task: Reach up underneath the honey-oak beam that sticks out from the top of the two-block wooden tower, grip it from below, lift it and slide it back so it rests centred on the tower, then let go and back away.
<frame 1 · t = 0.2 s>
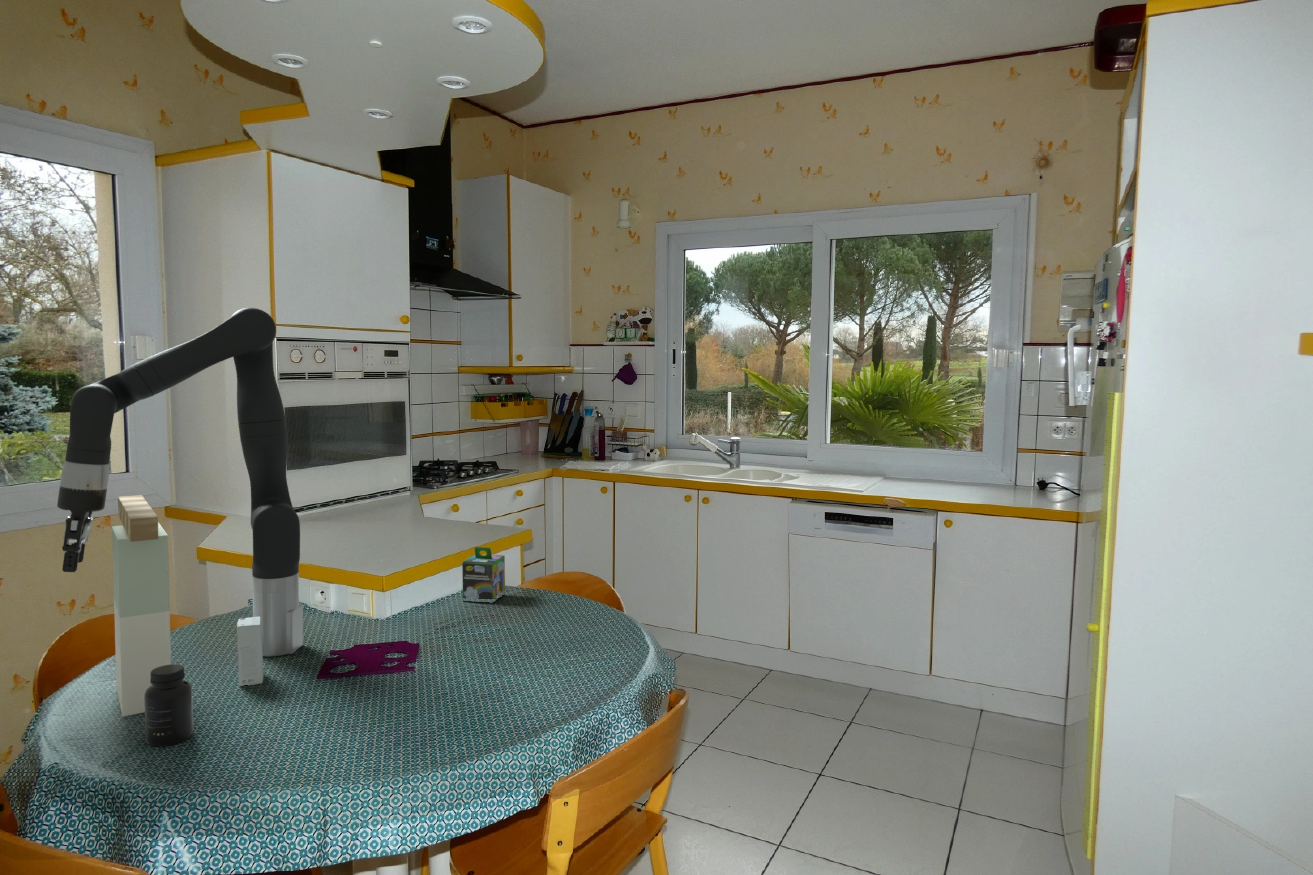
hand: (72, 566, 152), 23 cm above the table, tool pointing down, fingers open, 8 cm apart
supplement bottle: (169, 739, 130), on the table
beam: (137, 526, 146), point 32 cm above the table, touching tower
tower: (143, 698, 146), on the table
chalk box: (483, 599, 215), on the table
skincare box: (250, 680, 155), on the table
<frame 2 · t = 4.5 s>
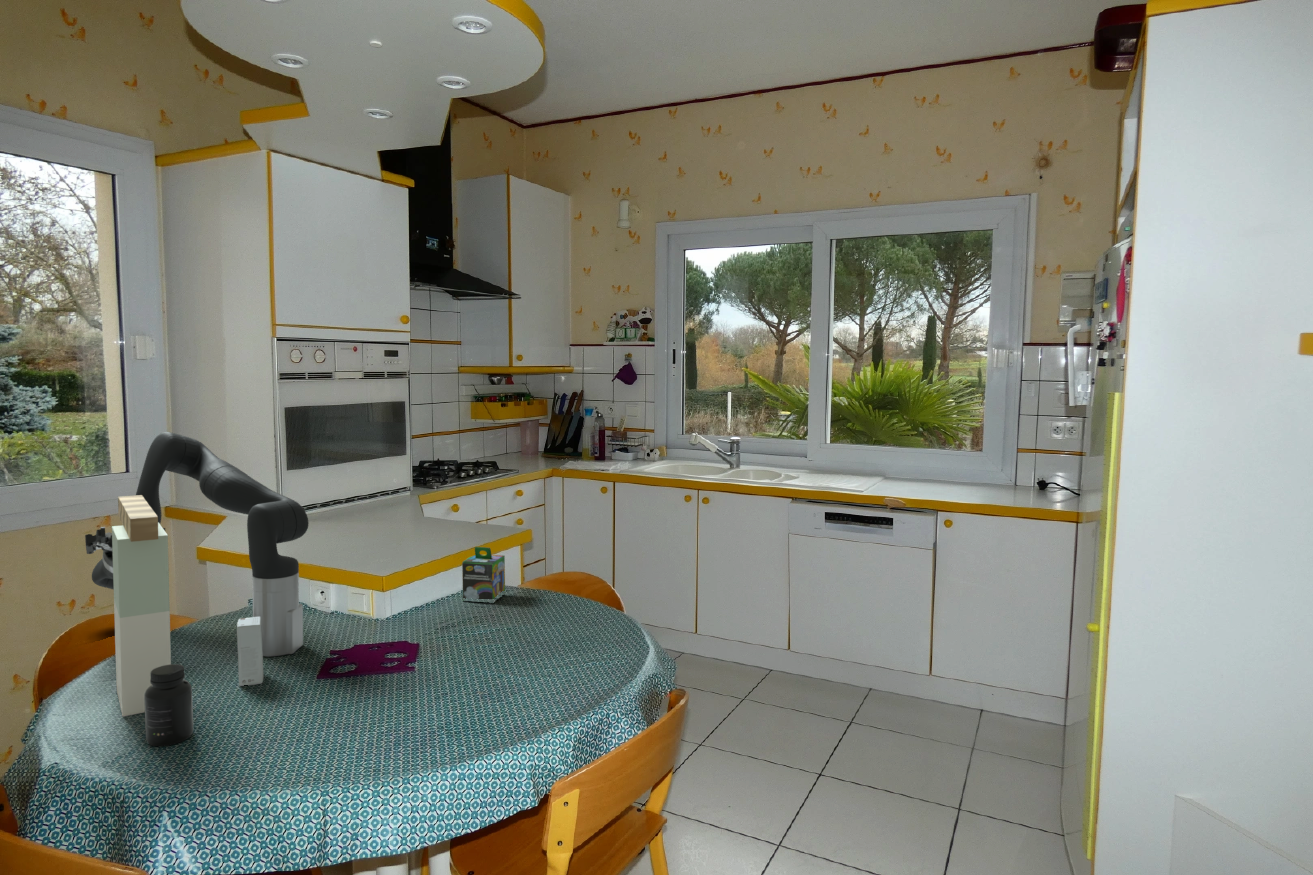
hand: (128, 529, 162), 28 cm above the table, tool pointing upward, fingers open, 8 cm apart
nothing on the table moved.
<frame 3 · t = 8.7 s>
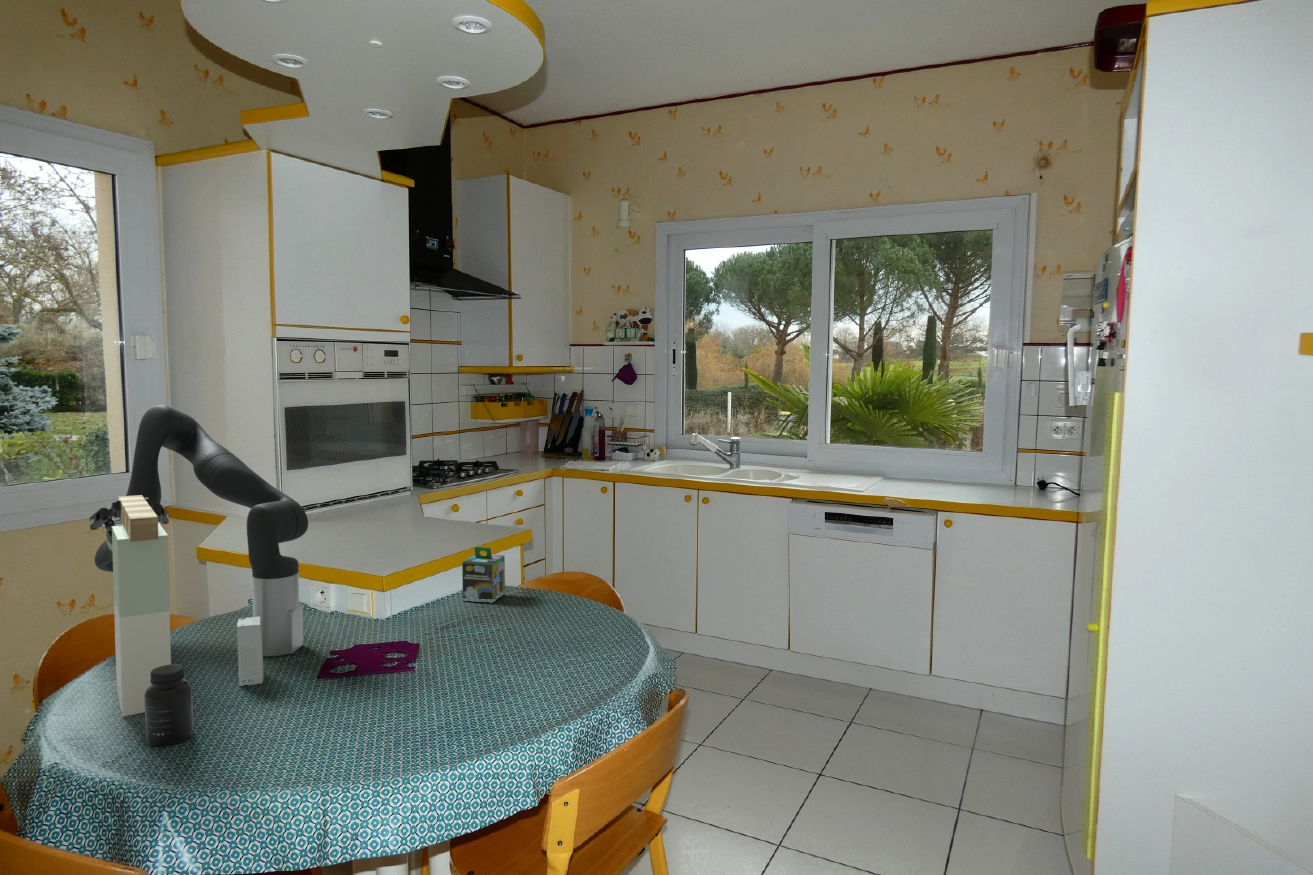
hand: (133, 503, 152), 35 cm above the table, tool pointing upward, fingers closed on beam, 4 cm apart
beam: (137, 526, 146), point 32 cm above the table, touching gripper, tower
everything else where it was.
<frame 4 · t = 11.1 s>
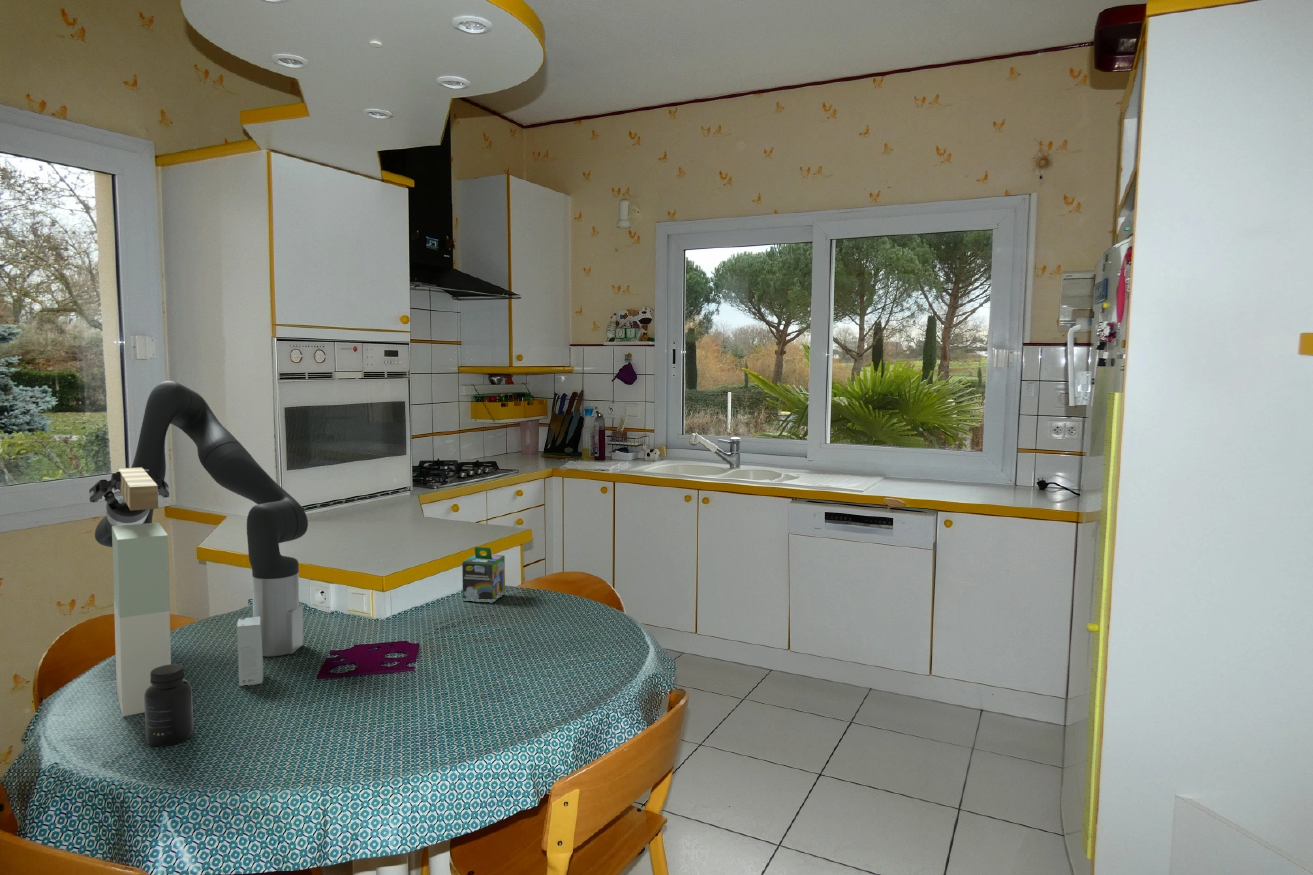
hand: (133, 474, 150), 41 cm above the table, tool pointing upward, fingers closed on beam, 4 cm apart
beam: (137, 497, 144), point 38 cm above the table, touching gripper
everything else where it was.
when the fingers open (36 cm above the table, at t = 13.9 s): beam stays where it is, resting on tower.
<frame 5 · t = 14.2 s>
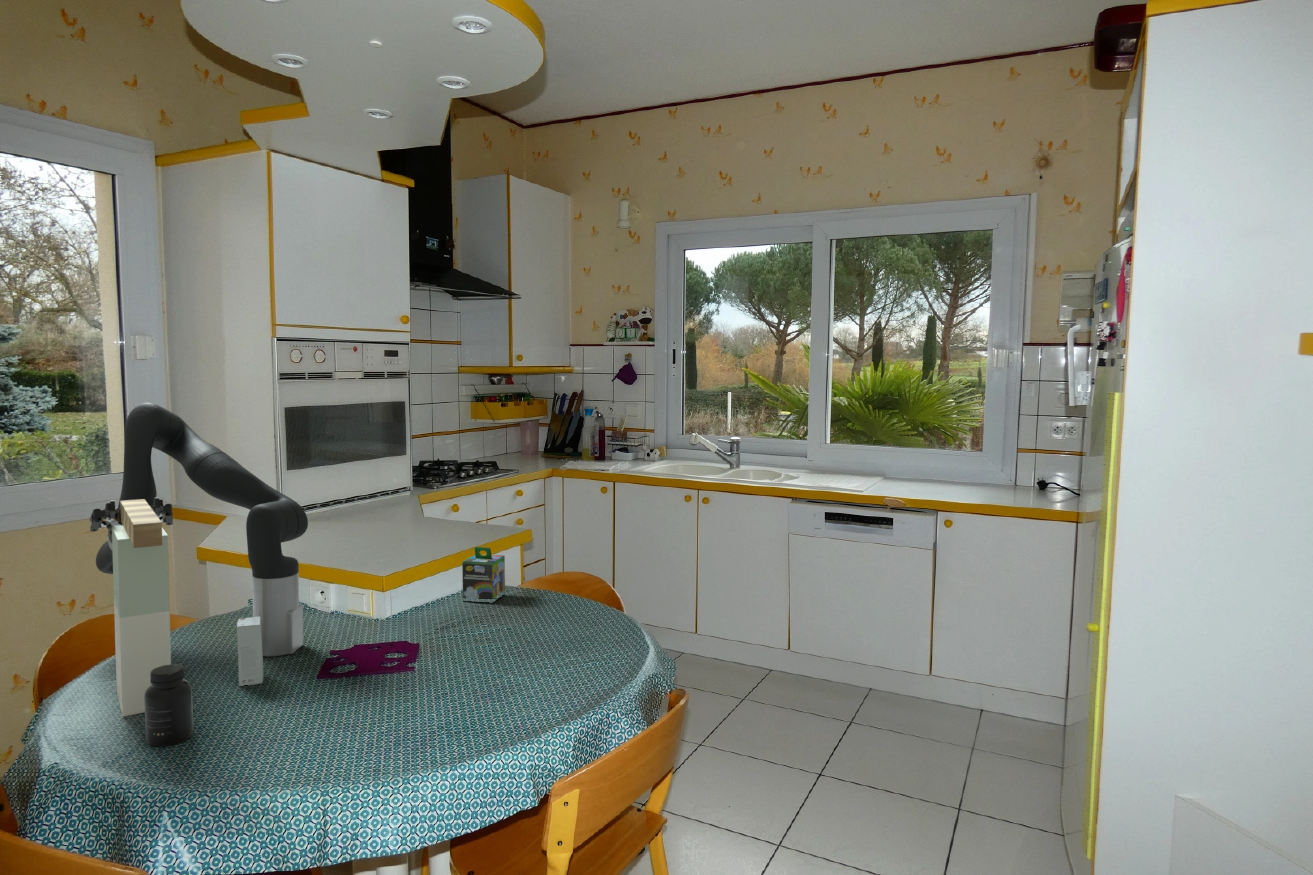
hand: (135, 503, 147), 36 cm above the table, tool pointing upward, fingers open, 6 cm apart
beam: (140, 532, 142), point 32 cm above the table, touching tower
everything else where it was.
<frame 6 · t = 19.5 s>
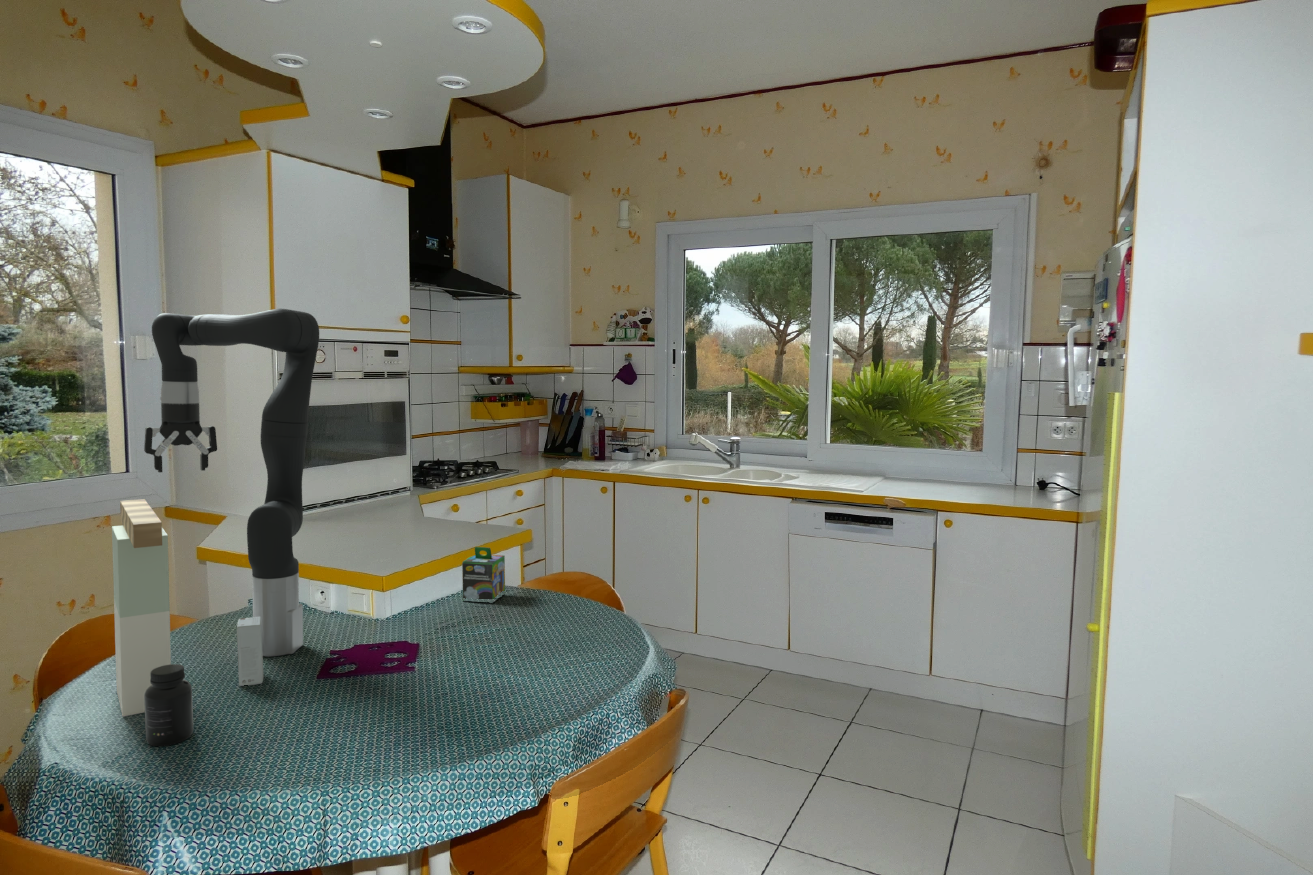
hand: (181, 471, 180), 38 cm above the table, tool pointing down, fingers open, 8 cm apart
nothing on the table moved.
at the end: beam moved 5.9 cm from its start; beam 1.8 cm from the tower (horizontally); beam point 32.0 cm above the table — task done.
